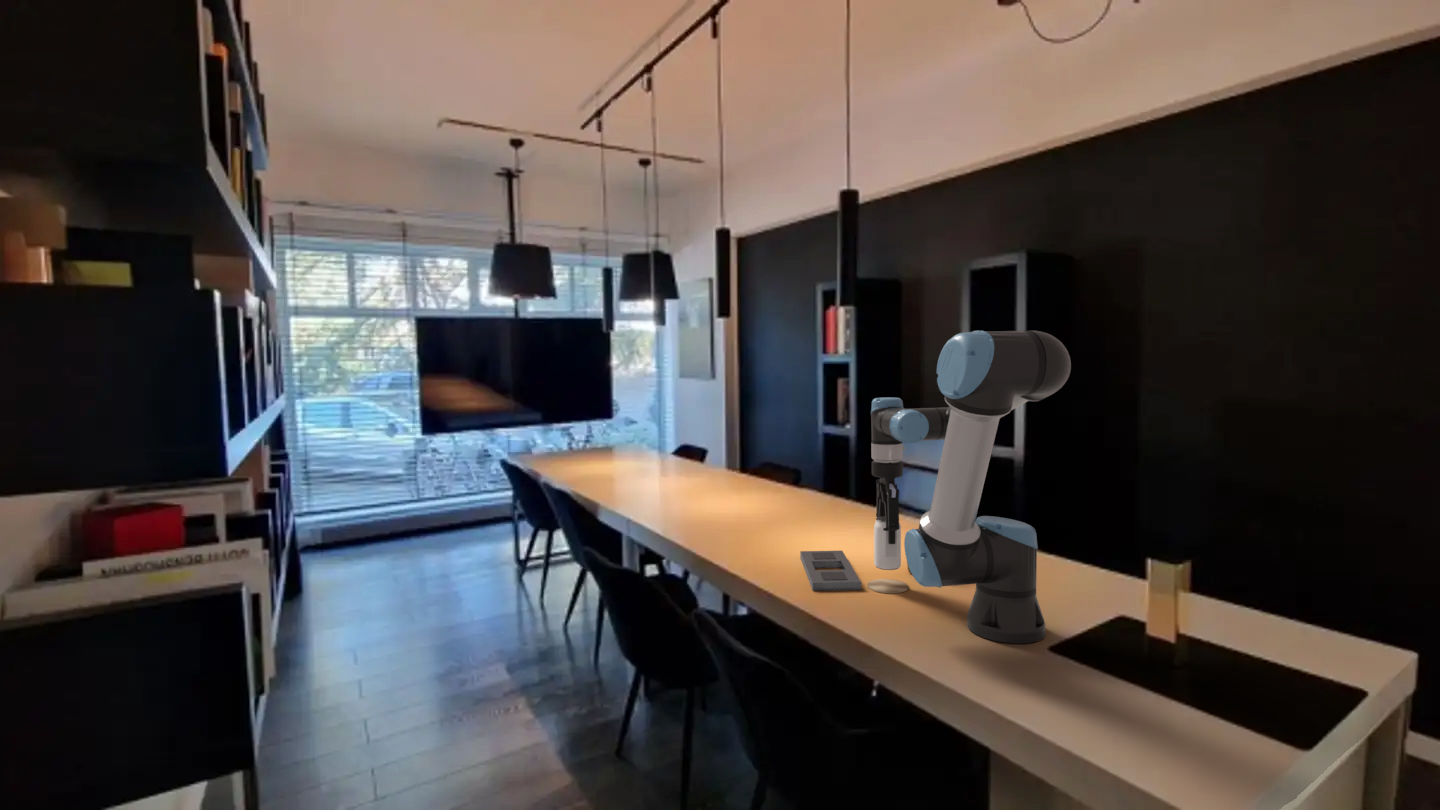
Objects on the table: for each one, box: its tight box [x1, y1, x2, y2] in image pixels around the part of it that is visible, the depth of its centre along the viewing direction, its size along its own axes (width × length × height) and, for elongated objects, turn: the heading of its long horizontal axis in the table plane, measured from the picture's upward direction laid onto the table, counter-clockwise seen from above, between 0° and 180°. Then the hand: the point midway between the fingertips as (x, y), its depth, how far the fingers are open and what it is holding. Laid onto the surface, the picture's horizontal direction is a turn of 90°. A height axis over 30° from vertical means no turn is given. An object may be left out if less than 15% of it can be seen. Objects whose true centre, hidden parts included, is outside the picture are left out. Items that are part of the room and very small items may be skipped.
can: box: [873, 517, 902, 571], centre depth 172 cm, size 6×6×12 cm
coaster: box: [867, 578, 910, 595], centre depth 172 cm, size 10×10×1 cm
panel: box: [799, 550, 862, 592], centre depth 184 cm, size 28×12×2 cm, turn 0°
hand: (887, 551), depth 172 cm, fingers closed on can, 6 cm apart
